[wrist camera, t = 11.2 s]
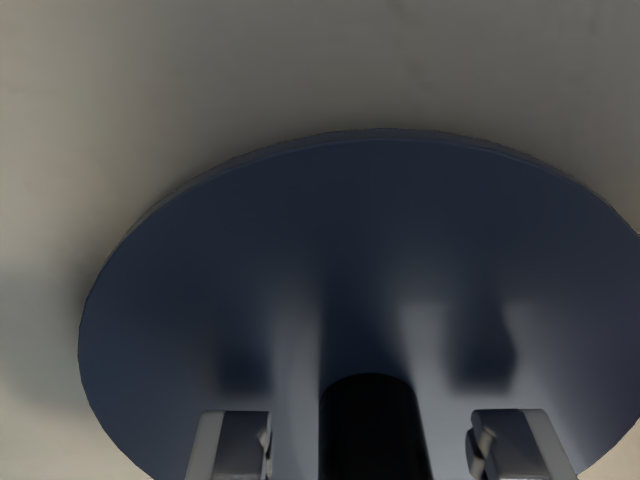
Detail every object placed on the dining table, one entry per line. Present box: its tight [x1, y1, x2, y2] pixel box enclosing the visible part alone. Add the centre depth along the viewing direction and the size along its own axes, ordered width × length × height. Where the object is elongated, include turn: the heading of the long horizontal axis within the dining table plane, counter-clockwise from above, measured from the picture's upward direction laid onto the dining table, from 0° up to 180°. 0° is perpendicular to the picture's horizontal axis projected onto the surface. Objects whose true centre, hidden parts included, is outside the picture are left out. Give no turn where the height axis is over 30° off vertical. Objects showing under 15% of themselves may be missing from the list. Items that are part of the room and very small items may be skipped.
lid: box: [78, 128, 640, 480], centre depth 10 cm, size 14×14×5 cm
